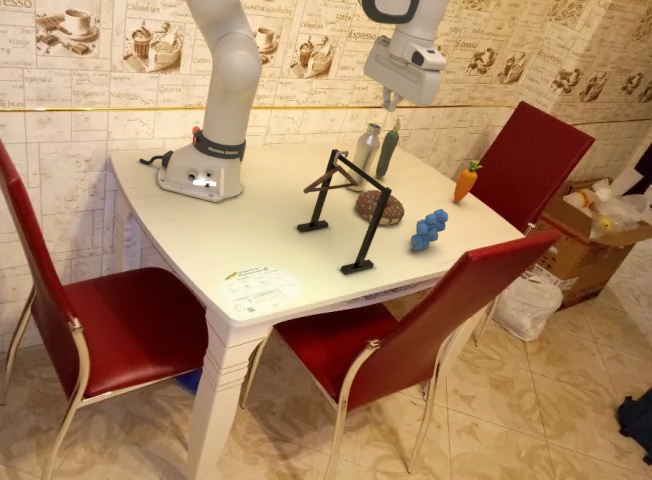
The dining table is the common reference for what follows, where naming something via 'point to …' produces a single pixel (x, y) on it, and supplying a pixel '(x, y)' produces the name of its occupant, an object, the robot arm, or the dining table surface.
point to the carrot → (466, 181)
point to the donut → (369, 202)
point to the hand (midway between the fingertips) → (387, 109)
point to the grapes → (429, 229)
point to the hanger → (337, 168)
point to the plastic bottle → (365, 155)
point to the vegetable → (388, 150)
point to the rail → (360, 260)
